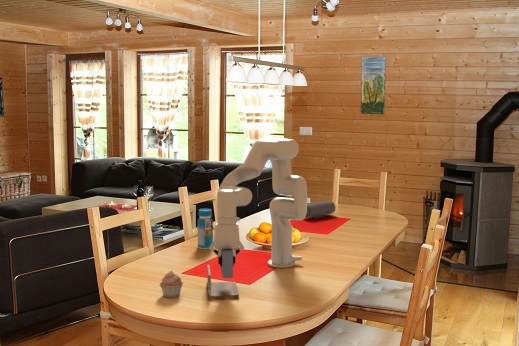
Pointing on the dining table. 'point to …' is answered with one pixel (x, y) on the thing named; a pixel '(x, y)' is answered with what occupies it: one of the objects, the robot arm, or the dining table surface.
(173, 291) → the cupcake
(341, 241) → the dining table surface
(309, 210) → the bluetooth speaker
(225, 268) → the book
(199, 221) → the beverage bottle
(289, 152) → the robot arm
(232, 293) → the bent wood veneer panel
